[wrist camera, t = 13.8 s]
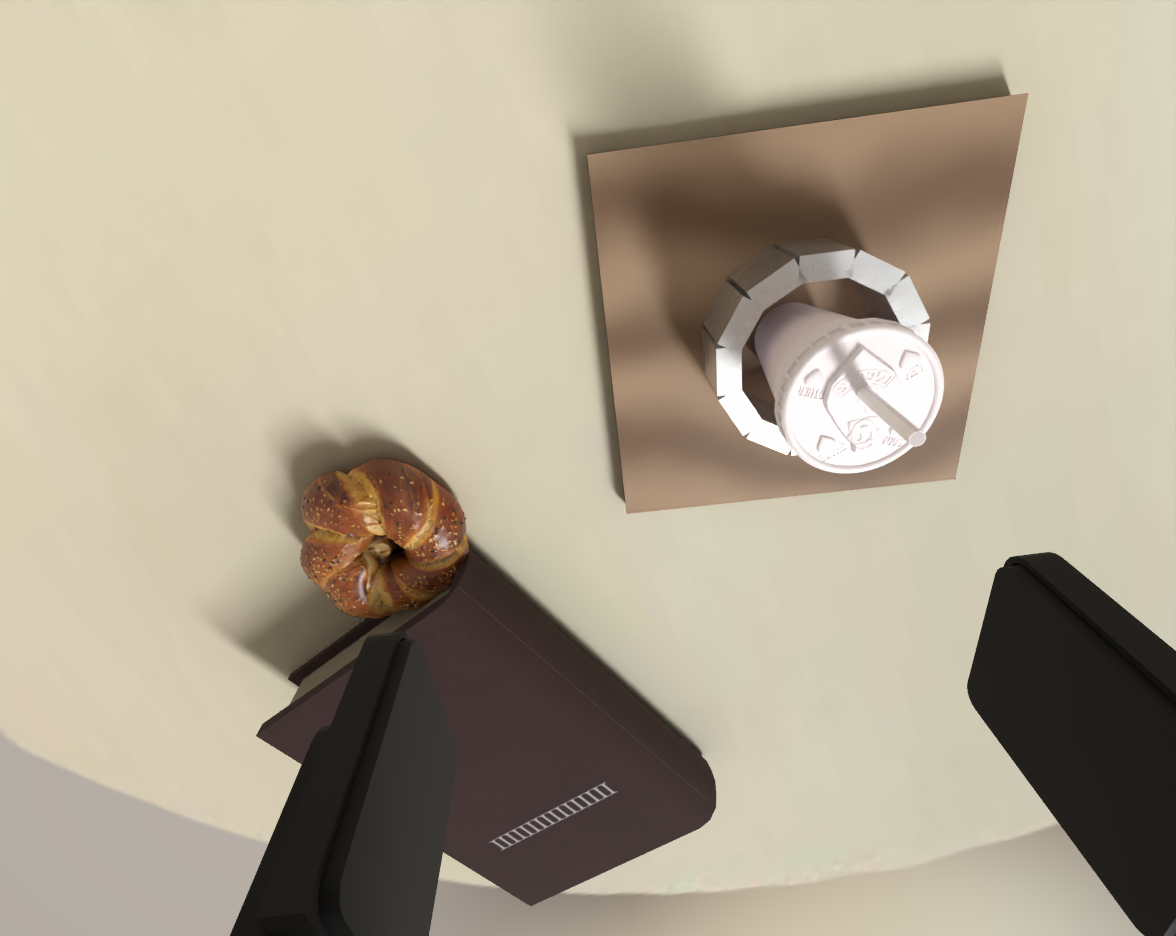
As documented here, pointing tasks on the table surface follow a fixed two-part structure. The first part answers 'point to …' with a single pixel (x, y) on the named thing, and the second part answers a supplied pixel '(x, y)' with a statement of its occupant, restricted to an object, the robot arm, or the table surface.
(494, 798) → the book
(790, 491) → the walnut board
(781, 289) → the steel sleeve
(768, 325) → the smoothie
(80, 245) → the table surface
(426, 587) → the pretzel
